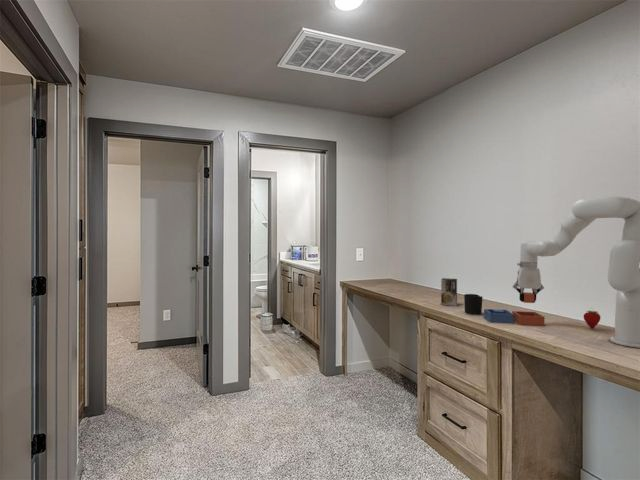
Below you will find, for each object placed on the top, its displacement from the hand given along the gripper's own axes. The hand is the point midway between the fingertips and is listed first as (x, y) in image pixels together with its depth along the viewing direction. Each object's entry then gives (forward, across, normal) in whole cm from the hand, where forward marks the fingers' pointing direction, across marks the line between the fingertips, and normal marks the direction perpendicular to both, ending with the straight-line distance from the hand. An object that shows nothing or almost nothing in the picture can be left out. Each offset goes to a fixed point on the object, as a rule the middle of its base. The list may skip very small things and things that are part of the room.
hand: (527, 301), depth 186 cm
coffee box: (+11, -31, +41) cm, 52 cm away
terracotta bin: (+11, 0, 0) cm, 11 cm away
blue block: (+10, -13, +3) cm, 17 cm away
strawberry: (+11, +26, -6) cm, 29 cm away
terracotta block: (0, 0, 0) cm, 0 cm away
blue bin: (+11, -13, +3) cm, 17 cm away
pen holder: (+11, -22, +18) cm, 30 cm away
